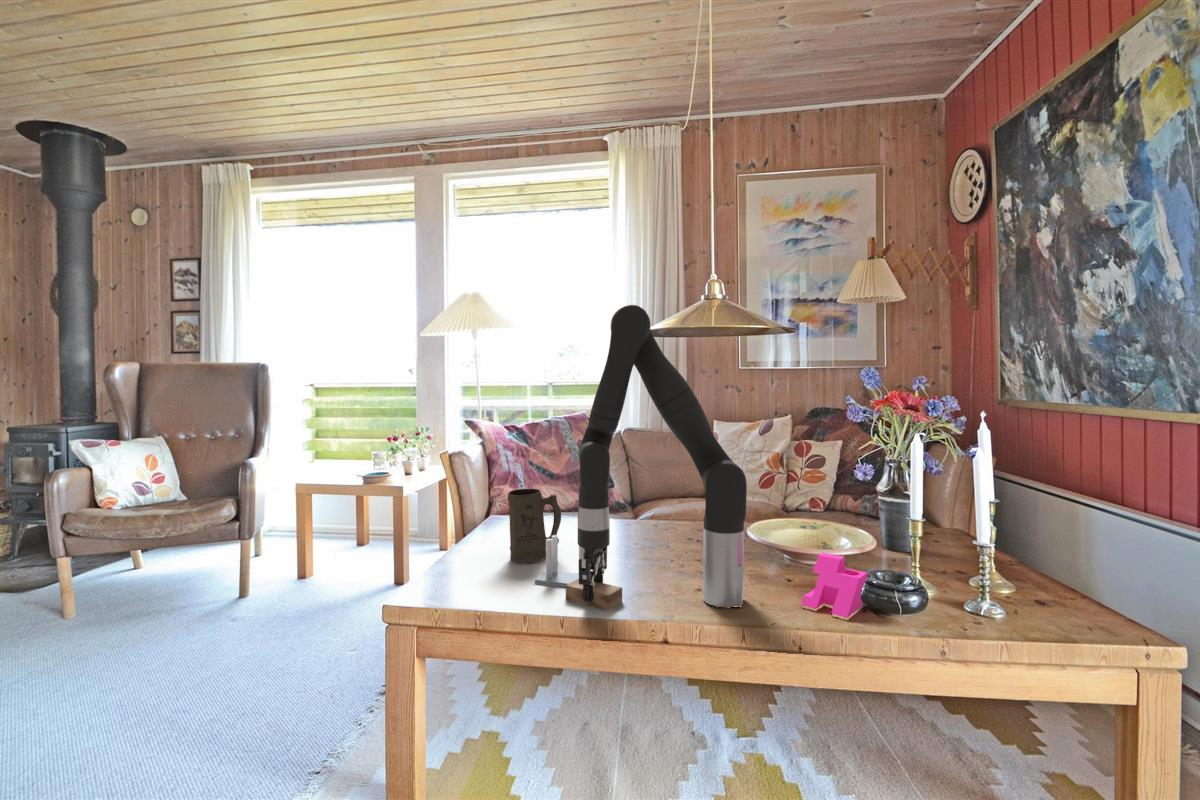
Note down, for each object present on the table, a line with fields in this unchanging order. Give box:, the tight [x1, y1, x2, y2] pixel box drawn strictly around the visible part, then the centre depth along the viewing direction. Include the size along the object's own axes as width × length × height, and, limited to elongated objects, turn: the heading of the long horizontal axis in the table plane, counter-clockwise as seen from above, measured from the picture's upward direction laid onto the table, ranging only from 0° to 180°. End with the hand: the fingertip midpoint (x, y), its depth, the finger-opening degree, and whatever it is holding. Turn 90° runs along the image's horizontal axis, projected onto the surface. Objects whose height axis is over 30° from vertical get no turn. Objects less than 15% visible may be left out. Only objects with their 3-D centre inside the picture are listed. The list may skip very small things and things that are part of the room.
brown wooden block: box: [565, 579, 623, 612], centre depth 135 cm, size 12×6×4 cm, turn 57°
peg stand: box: [534, 534, 587, 588], centre depth 148 cm, size 15×8×11 cm, turn 72°
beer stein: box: [506, 488, 562, 564], centre depth 167 cm, size 15×11×20 cm
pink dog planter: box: [800, 552, 868, 618], centre depth 131 cm, size 12×10×10 cm
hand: (593, 595), depth 135 cm, fingers closed on brown wooden block, 7 cm apart
